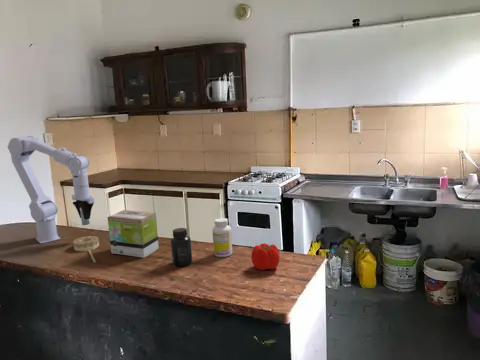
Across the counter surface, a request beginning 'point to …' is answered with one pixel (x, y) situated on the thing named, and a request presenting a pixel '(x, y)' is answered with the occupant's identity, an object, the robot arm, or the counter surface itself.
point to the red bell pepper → (265, 256)
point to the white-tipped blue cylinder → (84, 222)
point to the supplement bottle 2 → (222, 238)
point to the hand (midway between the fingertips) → (85, 218)
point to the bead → (86, 243)
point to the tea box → (133, 233)
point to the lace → (91, 256)
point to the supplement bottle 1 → (181, 248)
